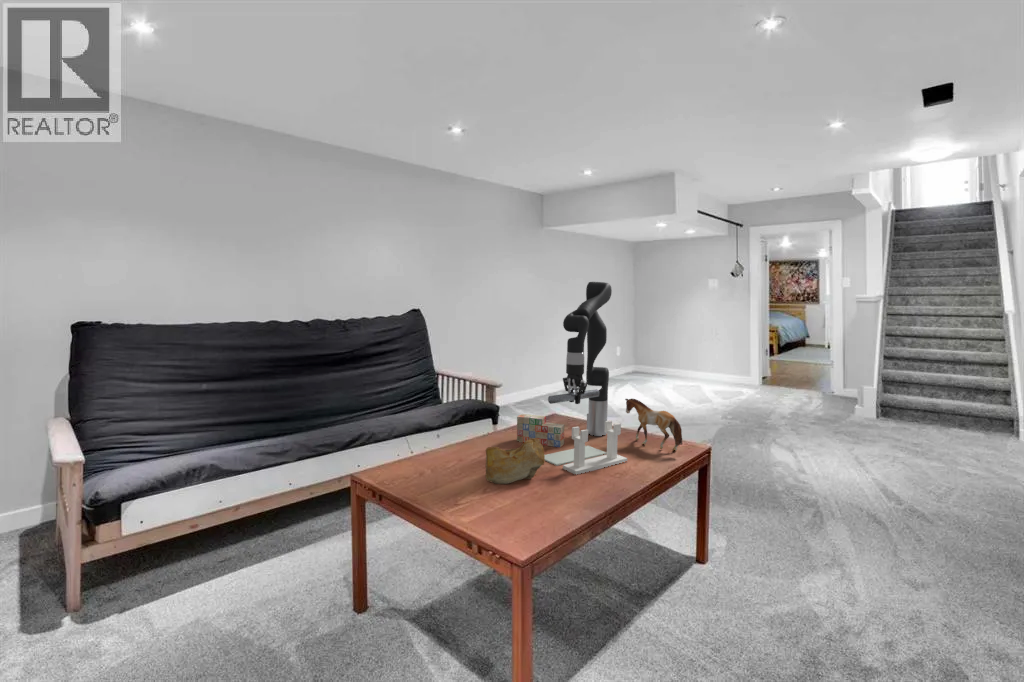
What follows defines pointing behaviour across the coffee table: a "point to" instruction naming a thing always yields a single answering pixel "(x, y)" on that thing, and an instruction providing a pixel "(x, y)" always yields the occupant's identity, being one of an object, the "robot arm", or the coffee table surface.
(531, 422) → the stack of blocks
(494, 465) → the rough brown rock
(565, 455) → the mat
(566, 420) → the coffee table surface
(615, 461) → the rack
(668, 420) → the horse figurine
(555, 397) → the rail
